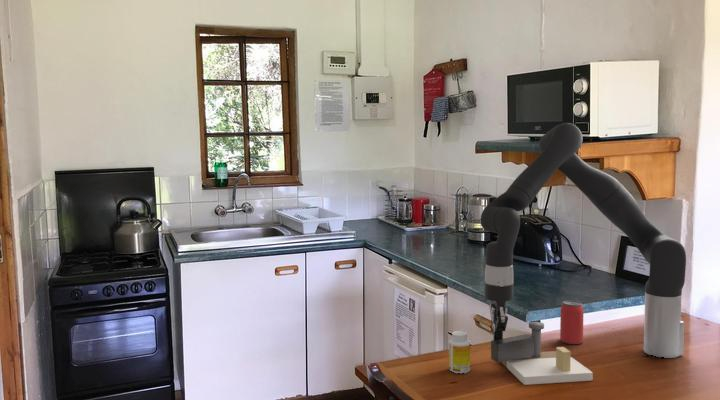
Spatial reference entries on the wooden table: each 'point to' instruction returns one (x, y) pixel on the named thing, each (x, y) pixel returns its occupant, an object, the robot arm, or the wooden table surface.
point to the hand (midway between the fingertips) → (497, 343)
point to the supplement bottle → (459, 352)
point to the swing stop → (512, 348)
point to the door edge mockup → (547, 364)
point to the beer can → (571, 322)
